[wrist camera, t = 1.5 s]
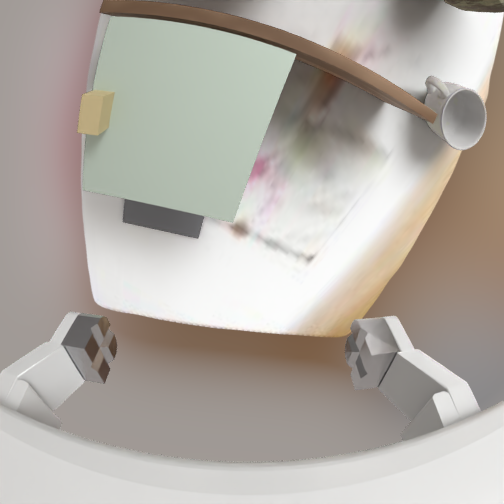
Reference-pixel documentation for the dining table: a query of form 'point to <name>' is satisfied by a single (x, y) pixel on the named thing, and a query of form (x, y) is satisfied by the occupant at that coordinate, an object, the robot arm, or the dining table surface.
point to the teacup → (455, 113)
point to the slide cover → (178, 114)
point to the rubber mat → (162, 218)
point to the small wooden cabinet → (125, 5)
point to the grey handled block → (478, 5)
